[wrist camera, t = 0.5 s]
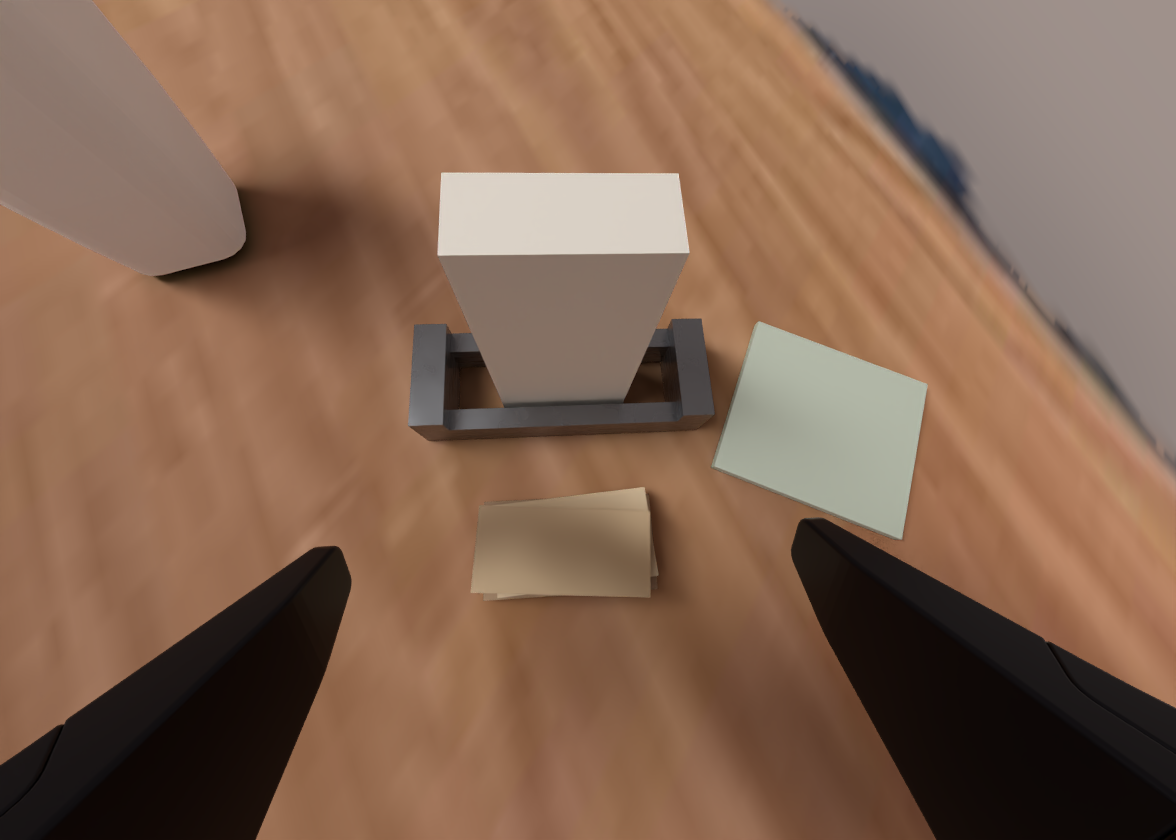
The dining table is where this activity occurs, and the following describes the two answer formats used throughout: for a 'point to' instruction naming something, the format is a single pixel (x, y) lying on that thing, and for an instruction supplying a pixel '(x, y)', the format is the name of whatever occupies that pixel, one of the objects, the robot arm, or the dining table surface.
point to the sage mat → (824, 430)
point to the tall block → (562, 276)
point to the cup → (105, 145)
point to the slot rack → (444, 420)
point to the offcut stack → (566, 547)
